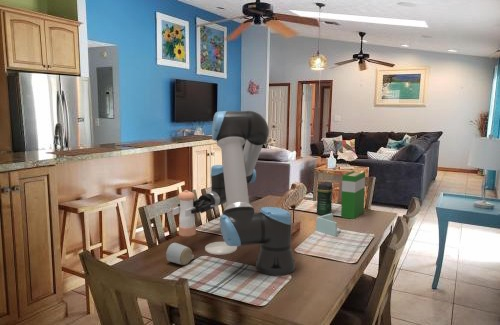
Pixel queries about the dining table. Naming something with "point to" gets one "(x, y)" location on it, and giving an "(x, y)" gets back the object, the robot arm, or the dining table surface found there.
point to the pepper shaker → (187, 223)
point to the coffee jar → (324, 198)
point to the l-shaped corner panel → (327, 225)
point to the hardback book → (353, 194)
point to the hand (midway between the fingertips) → (179, 212)
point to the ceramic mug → (179, 254)
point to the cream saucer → (220, 248)
